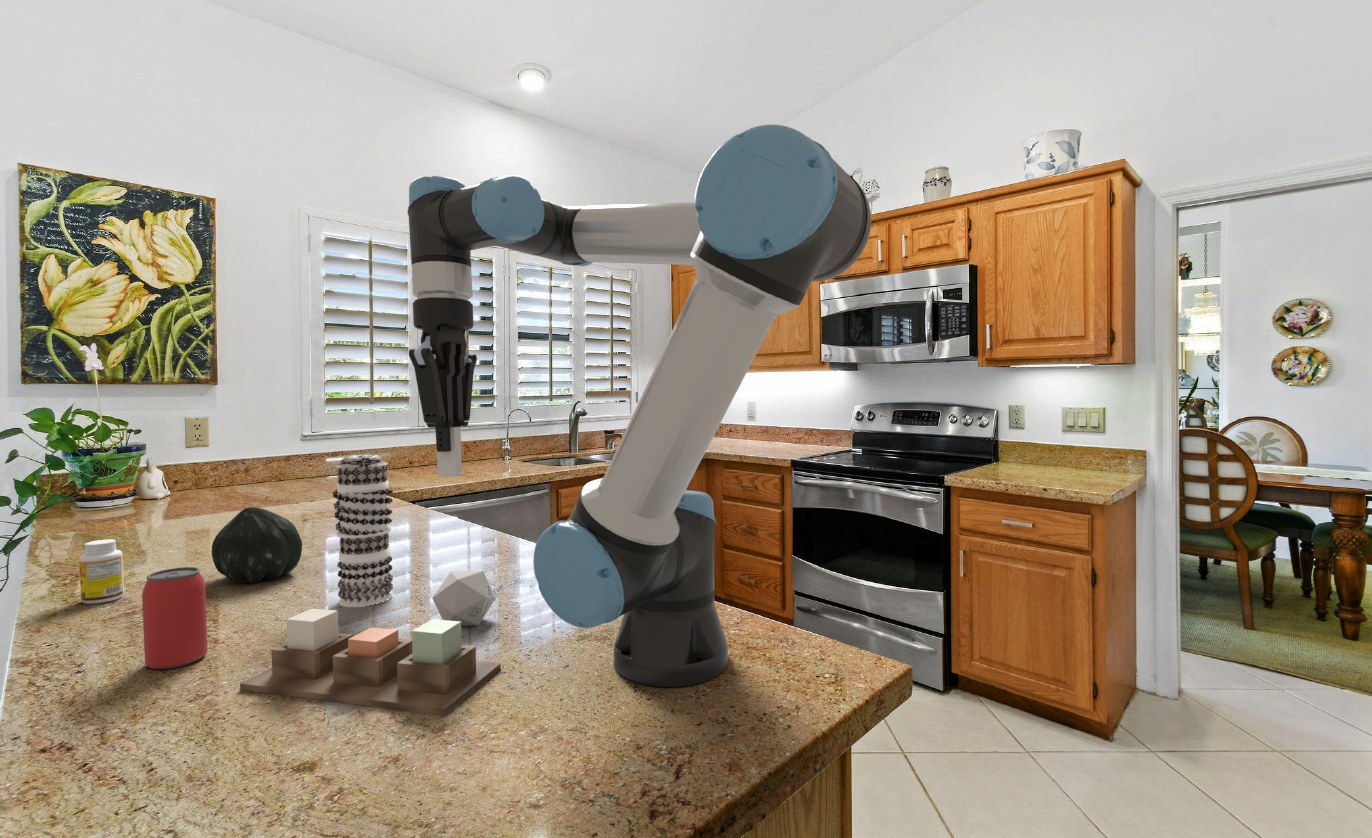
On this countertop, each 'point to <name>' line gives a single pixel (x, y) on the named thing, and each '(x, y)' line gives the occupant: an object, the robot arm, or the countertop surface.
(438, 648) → the sage button
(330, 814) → the countertop surface
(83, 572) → the supplement bottle
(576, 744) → the countertop surface
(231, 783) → the countertop surface
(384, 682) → the button board
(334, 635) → the ivory button
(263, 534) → the squash
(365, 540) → the decorative candle
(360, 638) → the terracotta button
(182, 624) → the beer can
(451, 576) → the die
